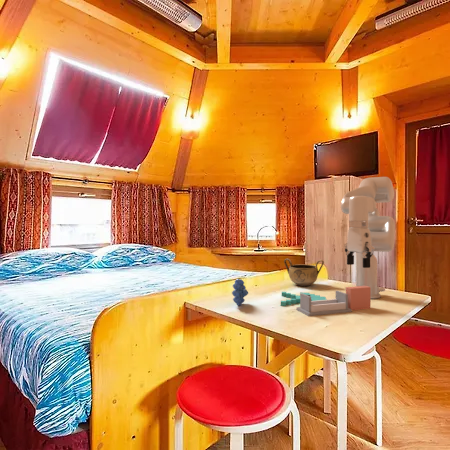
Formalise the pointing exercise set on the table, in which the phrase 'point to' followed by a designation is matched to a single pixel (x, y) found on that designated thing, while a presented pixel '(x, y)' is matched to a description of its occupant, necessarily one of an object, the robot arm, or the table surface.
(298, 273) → the ceramic bowl
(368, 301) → the salmon pink rectangular block
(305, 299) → the track
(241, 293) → the grapes
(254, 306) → the table surface
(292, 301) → the alien figure
